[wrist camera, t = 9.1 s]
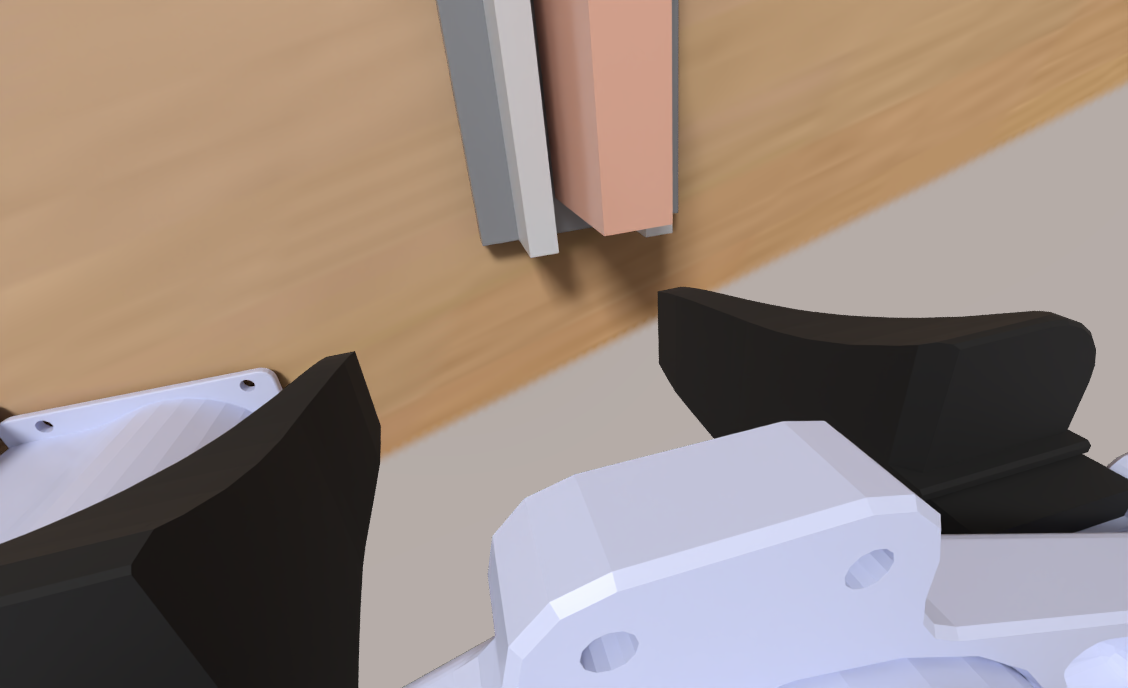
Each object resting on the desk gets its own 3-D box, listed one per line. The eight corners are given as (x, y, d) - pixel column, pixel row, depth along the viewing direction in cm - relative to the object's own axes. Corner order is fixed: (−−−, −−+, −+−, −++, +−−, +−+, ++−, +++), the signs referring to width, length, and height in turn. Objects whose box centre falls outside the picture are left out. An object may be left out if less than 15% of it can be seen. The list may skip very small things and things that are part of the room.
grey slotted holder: (480, 239, 20) (490, 265, 17) (411, -125, 15) (407, -184, 12) (667, 207, 21) (708, 226, 18) (664, -137, 16) (720, -193, 13)
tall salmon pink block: (555, 197, 19) (604, 236, 13) (525, -71, 15) (577, -161, 10) (605, 190, 19) (673, 224, 14) (588, -75, 15) (671, -165, 10)
